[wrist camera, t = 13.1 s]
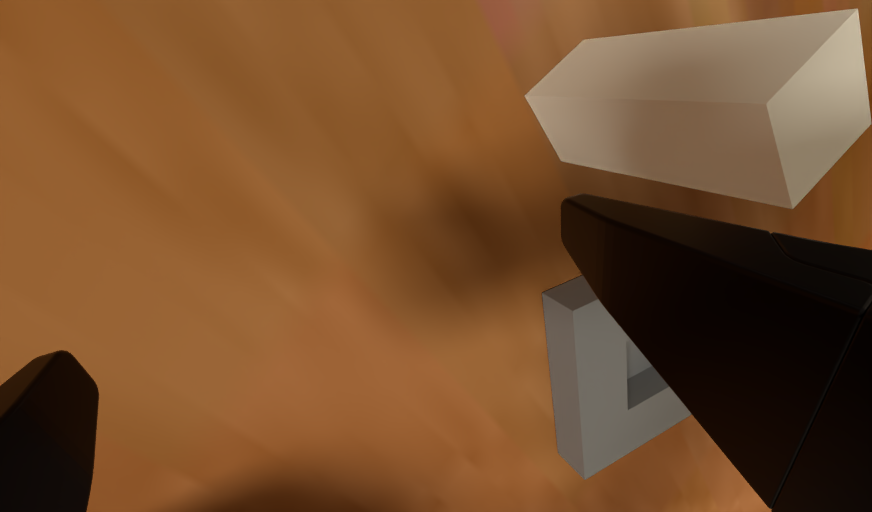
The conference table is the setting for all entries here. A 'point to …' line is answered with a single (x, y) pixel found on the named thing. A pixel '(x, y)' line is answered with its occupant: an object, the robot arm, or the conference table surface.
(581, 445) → the grey square frame
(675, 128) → the plug
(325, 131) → the conference table surface
